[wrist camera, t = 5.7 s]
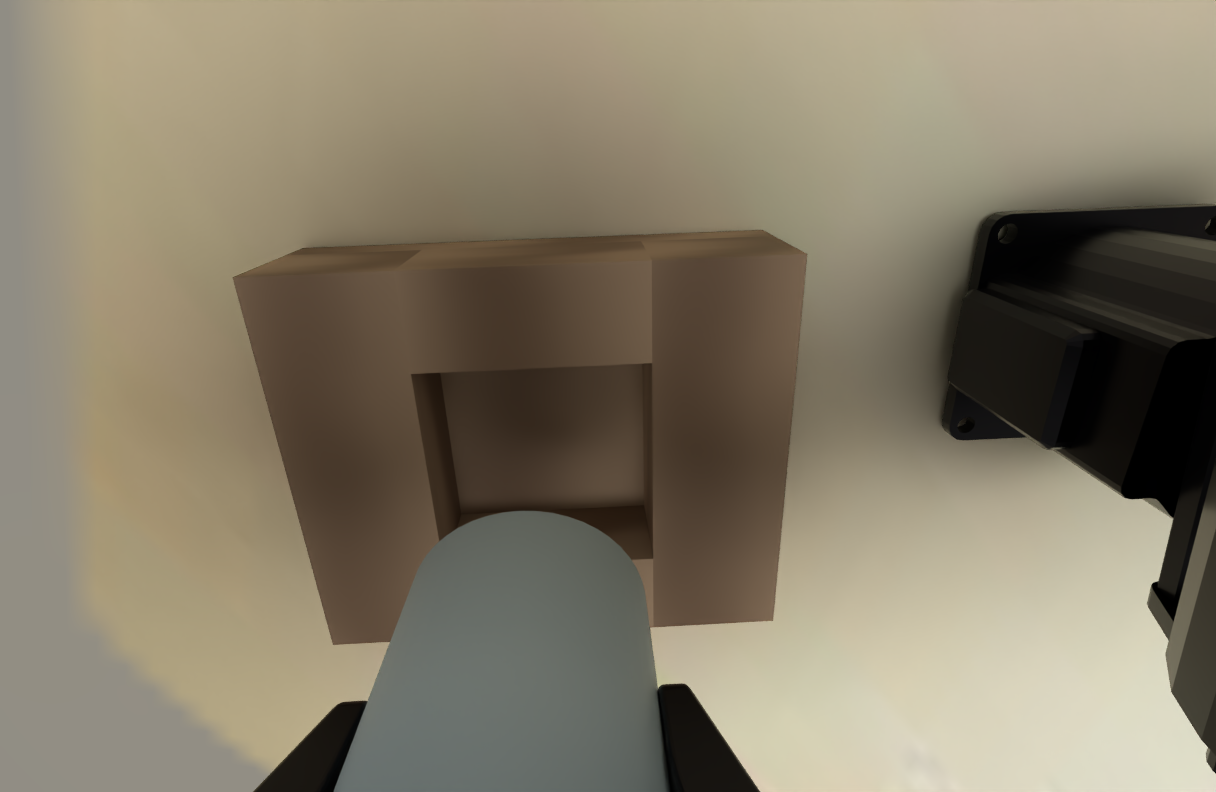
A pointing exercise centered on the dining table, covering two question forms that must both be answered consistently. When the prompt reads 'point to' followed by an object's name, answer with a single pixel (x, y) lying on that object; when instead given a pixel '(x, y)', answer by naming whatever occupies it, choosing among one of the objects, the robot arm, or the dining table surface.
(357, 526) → the socket block
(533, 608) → the pin
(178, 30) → the dining table surface
